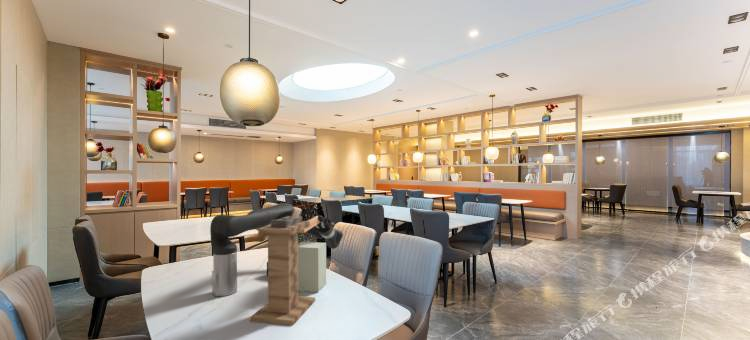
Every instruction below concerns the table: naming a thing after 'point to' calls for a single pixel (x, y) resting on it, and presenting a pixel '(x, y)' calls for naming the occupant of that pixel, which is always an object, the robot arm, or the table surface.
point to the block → (311, 224)
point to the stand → (283, 273)
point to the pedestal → (311, 266)
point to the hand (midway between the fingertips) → (315, 217)
